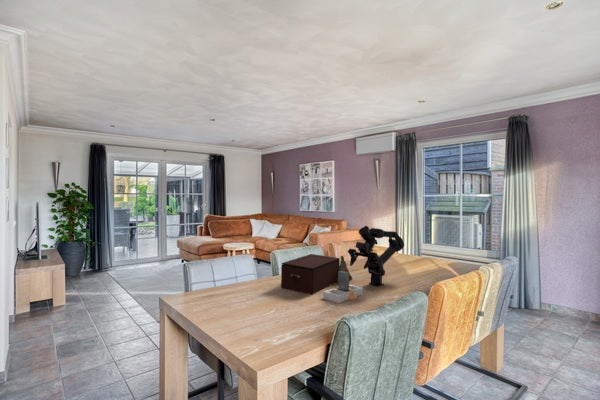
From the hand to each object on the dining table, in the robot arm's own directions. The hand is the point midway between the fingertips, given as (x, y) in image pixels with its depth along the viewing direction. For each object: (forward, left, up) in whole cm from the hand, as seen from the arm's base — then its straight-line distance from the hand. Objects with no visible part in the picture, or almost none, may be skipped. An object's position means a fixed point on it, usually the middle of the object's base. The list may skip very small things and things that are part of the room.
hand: (357, 267), depth 184 cm
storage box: (+16, -24, -14) cm, 32 cm away
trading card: (+33, +22, -14) cm, 42 cm away
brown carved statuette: (-8, -20, -14) cm, 25 cm away
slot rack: (+13, +4, -14) cm, 19 cm away
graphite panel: (+13, +4, -14) cm, 19 cm away
